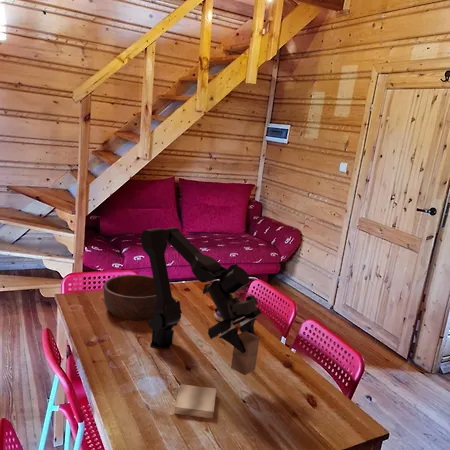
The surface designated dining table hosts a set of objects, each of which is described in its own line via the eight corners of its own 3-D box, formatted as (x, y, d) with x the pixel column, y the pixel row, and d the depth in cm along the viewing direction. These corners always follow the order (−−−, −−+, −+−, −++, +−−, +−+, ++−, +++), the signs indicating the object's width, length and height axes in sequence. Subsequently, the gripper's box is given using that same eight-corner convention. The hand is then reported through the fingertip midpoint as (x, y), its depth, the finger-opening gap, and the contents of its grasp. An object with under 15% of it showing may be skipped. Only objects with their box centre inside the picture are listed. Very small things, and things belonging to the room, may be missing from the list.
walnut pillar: (231, 368, 122) (235, 336, 120) (241, 361, 126) (245, 330, 124) (245, 375, 119) (249, 342, 117) (255, 369, 123) (259, 337, 121)
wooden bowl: (136, 330, 151) (138, 303, 149) (88, 309, 164) (89, 284, 162) (179, 309, 172) (182, 285, 170) (134, 292, 185) (135, 269, 183)
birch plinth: (174, 413, 110) (174, 406, 109) (179, 390, 120) (180, 384, 119) (212, 418, 110) (213, 411, 109) (215, 395, 119) (216, 388, 119)
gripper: (220, 295, 113) (249, 349, 109) (260, 281, 127) (287, 328, 123) (195, 313, 119) (222, 365, 115) (236, 297, 134) (261, 343, 130)
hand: (249, 349), depth 121 cm, fingers closed on walnut pillar, 5 cm apart
